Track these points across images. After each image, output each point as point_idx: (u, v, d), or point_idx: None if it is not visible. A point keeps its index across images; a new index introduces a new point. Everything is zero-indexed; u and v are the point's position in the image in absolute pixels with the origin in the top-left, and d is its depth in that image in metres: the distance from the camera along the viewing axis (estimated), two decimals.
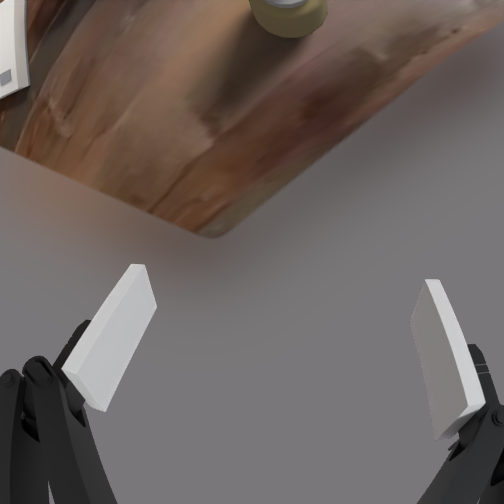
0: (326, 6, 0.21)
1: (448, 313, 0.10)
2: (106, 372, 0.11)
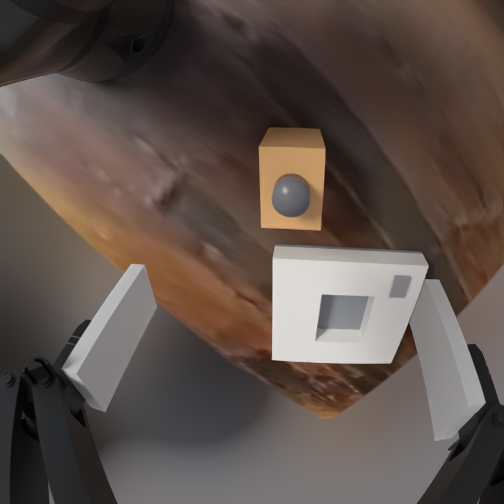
0: None
1: (448, 313, 0.10)
2: (106, 372, 0.11)
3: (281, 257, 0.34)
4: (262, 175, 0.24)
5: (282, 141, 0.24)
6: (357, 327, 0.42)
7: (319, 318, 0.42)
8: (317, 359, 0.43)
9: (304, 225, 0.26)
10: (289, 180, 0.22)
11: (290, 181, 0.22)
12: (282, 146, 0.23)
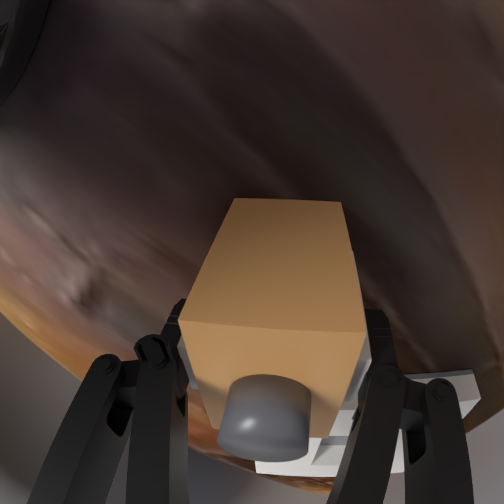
0: None
1: None
2: None
3: None
4: (198, 370, 0.10)
5: (249, 281, 0.10)
6: None
7: None
8: (313, 474, 0.28)
9: None
10: (259, 418, 0.08)
11: (261, 423, 0.08)
12: (243, 320, 0.08)
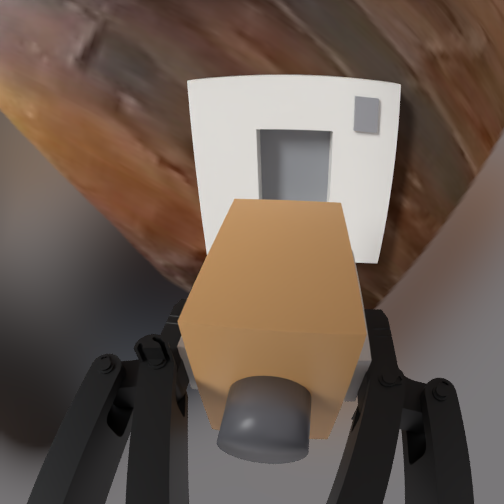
0: None
1: None
2: None
3: (197, 79, 0.24)
4: (198, 372, 0.09)
5: (249, 282, 0.10)
6: None
7: (266, 188, 0.31)
8: None
9: None
10: (258, 420, 0.08)
11: (261, 424, 0.08)
12: (243, 321, 0.08)
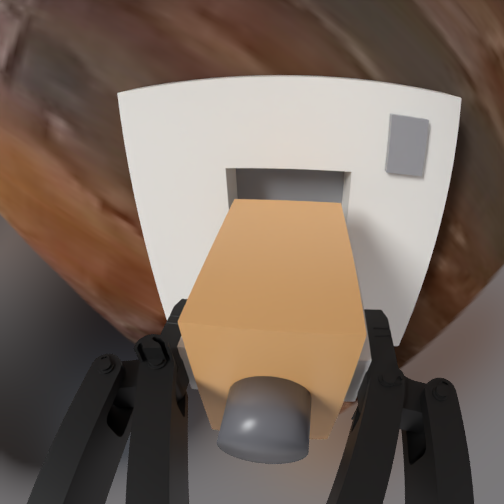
0: None
1: None
2: None
3: (133, 89, 0.14)
4: (198, 372, 0.09)
5: (249, 283, 0.10)
6: None
7: None
8: None
9: None
10: (258, 420, 0.08)
11: (261, 424, 0.08)
12: (243, 322, 0.08)
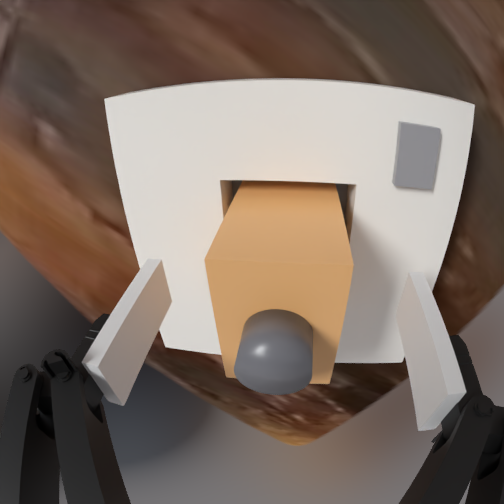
0: None
1: (430, 304, 0.11)
2: (125, 365, 0.11)
3: (121, 95, 0.13)
4: (218, 310, 0.12)
5: (260, 233, 0.12)
6: None
7: None
8: None
9: None
10: (270, 341, 0.10)
11: (272, 344, 0.10)
12: (256, 257, 0.11)
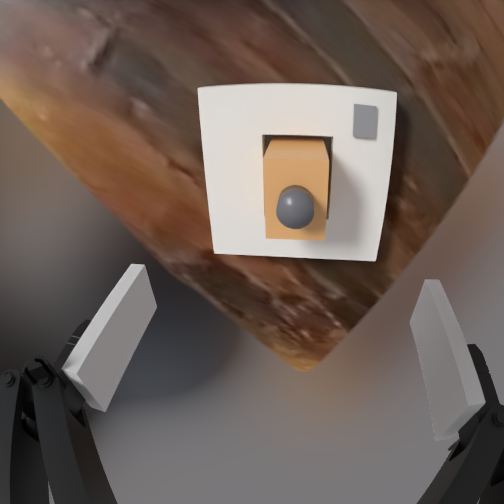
0: None
1: (448, 313, 0.10)
2: (106, 372, 0.11)
3: (207, 87, 0.26)
4: (266, 187, 0.24)
5: (286, 152, 0.24)
6: None
7: None
8: (272, 250, 0.34)
9: (308, 236, 0.26)
10: (293, 192, 0.23)
11: (294, 193, 0.22)
12: (286, 158, 0.23)
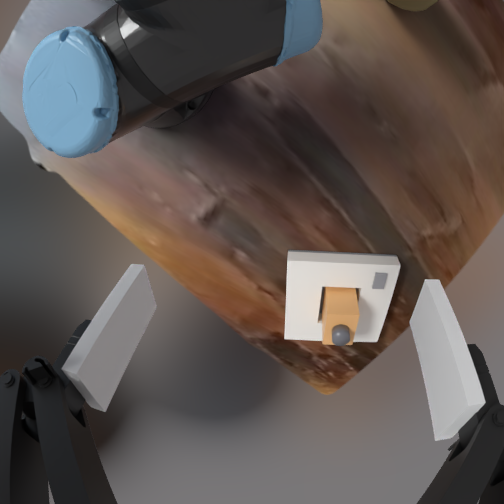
0: None
1: (448, 313, 0.10)
2: (106, 372, 0.11)
3: (293, 259, 0.48)
4: (326, 325, 0.47)
5: (337, 306, 0.47)
6: None
7: (320, 305, 0.55)
8: (319, 338, 0.56)
9: None
10: (341, 331, 0.45)
11: (342, 332, 0.45)
12: (338, 313, 0.45)
